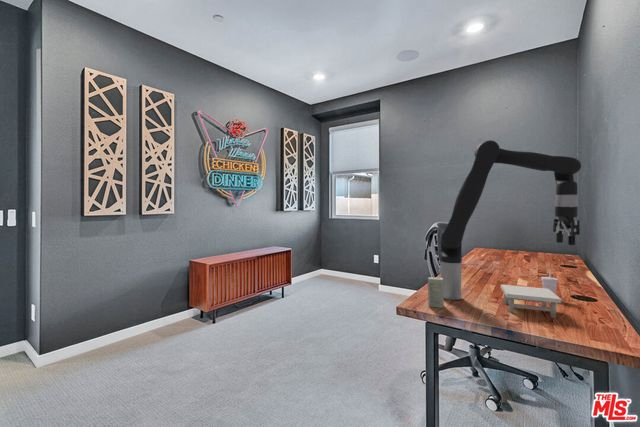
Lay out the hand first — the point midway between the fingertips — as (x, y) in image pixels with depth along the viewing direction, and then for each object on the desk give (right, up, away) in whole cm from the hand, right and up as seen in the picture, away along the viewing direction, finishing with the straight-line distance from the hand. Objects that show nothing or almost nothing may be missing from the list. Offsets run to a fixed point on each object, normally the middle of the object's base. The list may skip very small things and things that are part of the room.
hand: (565, 243), depth 129 cm
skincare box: (-54, -28, +3) cm, 61 cm away
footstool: (-17, -28, -2) cm, 33 cm away
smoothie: (+4, -28, +14) cm, 31 cm away
